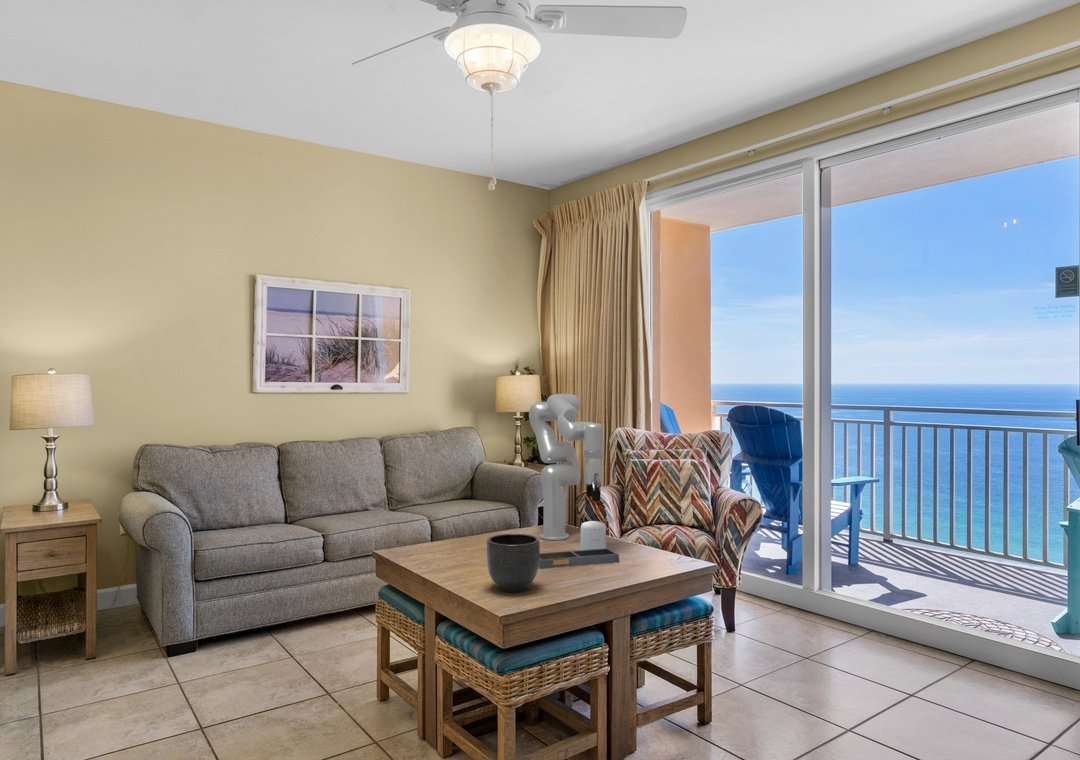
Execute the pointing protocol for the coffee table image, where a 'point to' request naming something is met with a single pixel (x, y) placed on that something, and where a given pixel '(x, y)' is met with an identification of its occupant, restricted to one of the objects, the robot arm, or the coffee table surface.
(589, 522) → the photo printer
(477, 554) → the coffee table surface
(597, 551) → the divided tray
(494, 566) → the planter
